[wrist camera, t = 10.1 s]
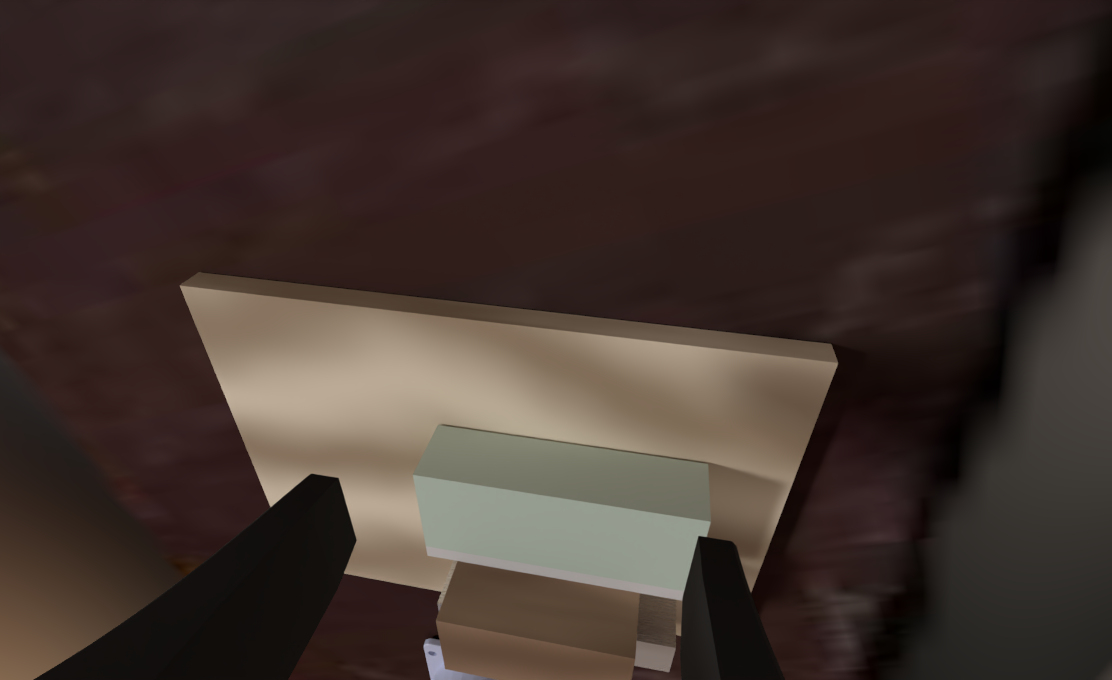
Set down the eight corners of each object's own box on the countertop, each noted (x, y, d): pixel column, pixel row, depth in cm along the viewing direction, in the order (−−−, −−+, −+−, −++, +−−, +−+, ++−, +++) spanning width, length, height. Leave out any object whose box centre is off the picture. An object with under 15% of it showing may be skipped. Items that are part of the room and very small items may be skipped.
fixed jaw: (670, 615, 26) (668, 672, 24) (459, 577, 28) (441, 628, 26) (676, 590, 25) (675, 648, 23) (456, 552, 26) (437, 603, 24)
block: (635, 583, 25) (625, 705, 21) (481, 556, 26) (445, 668, 22) (643, 534, 23) (635, 658, 19) (477, 507, 24) (436, 620, 20)
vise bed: (730, 624, 28) (731, 645, 27) (304, 547, 31) (294, 564, 30) (831, 343, 18) (838, 363, 17) (198, 272, 21) (179, 285, 20)
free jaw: (688, 543, 23) (688, 601, 21) (448, 504, 24) (427, 555, 22) (708, 464, 20) (710, 521, 18) (438, 424, 22) (412, 474, 20)
